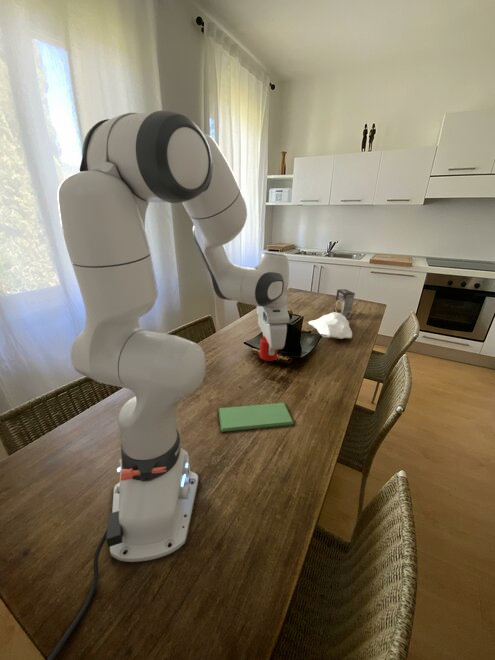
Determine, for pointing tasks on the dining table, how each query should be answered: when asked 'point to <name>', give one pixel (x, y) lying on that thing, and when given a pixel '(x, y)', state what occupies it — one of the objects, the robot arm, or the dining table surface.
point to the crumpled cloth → (332, 326)
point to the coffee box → (344, 302)
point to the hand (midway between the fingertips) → (268, 349)
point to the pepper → (266, 350)
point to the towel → (254, 417)
